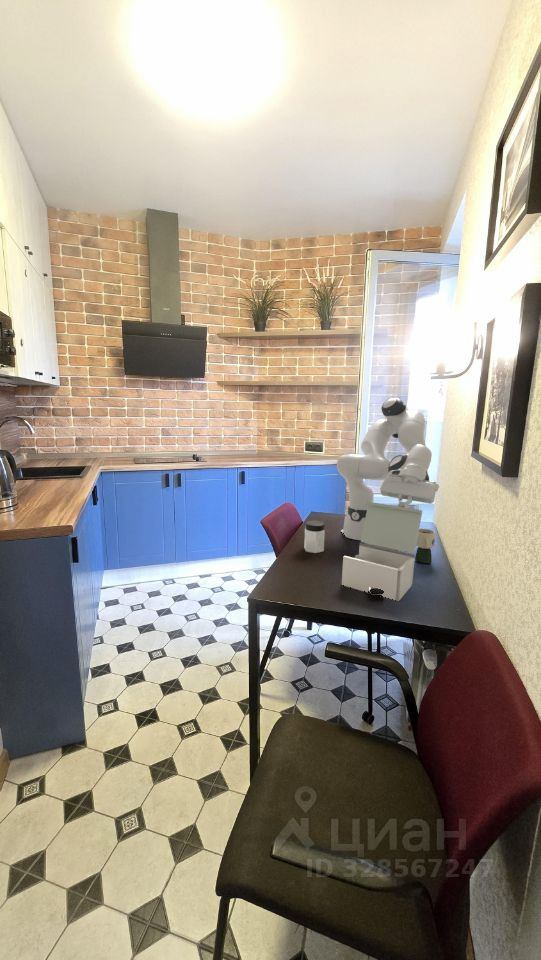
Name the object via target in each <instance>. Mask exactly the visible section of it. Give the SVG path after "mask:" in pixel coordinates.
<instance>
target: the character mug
mask: <svg viewBox="0 0 541 960" xmlns="http://www.w3.org/2000/svg"><path fill="white" fill-rule="evenodd" d="M435 539H436V531H435V530H433V529H429V528H419V533H418V538H417V544H416V551H415V552H416V553H415V560H414V561H416V562H419V563H422V564H432V561H433V559H432V548H435V547H434V546H435V541H436V540H435Z"/></svg>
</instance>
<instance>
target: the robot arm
mask: <svg viewBox="0 0 541 960" xmlns="http://www.w3.org/2000/svg"><path fill="white" fill-rule="evenodd" d="M380 409H381V413H382V415H383V416H384V418H385V419H381V418H380V419H377V420H376V421H375V420H374V422H373V424H371V426H370V427H369V429H368V430H367V432H366V434H365V436H364V438H363V439H362V442H361V444H360V445H361V446H360V447H361V448H360V449H361V451H362V453H363V454H355V453H350V454H342V455H341V456H339V458H338V459H337V462H336V470H337V472H338V473H339V474H340V476H341V477H343V479H344V481H345V482H346V486H347V487H348V494H349V496H348V499H349V501H348V506H347V514H346V515H345V516H344V522H343V529H340V533H341V532H342V533H341V534H343V533H344V534H343V536H344V535H345V538H347V539H352V540H357V541H361V538H362V533H363V528H364V523H365V518H366V513H367V508H368V505H367V502H373V503H374V497H375V495H374V491H373V490H372V488H370V487H369V486H368V485H367V484H366V483H365V481H364V480H370V481H383V482H382V483H381V485H380V488H379V490H380V493H381V495H382V496H384V497H389V498H395V499H398V503H397V506H398V507H405V508H408V506H409V505H410V504H412V503H413V502H419V503H426V504H433V503H434V502H435V499H436V493H437V491H438V490H439V488H440V485H439V483H437V482H436V481H433V480H432V481H431V480H430V476H429V472H428V470H429V467H430V465H431V462H432V457H433V456H432V455H433V453H432V450H431V449H429V448H428V447H427V446H426V442H425V441H426V440H425V428H426V426H425V425H426V422H425V421H426V420H425V416H424V413H422V412H421V411H420V410H417V409H415V410H414V409H413V410H409V409H408V407H407V405H406V404H405V402H404V401H403V400H401V398H399V397H390V398H388V399H387V400H385V401H384V402H383V404H382V405H381V408H380ZM391 436H392V437H393V438H395V439H398V441H399V443H400V445H401V447H403V448H404V449H405V451H406V452H407V453H405V454H404V453H402V454H399V455H395V456H394V457H393V458H392V459H391V460H389V459H388V458H387V457H386V456H385V454H384V453H385V450H386V447H387V445H388V442H389V440H390V438H391ZM403 500H406V501H403Z"/></svg>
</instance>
